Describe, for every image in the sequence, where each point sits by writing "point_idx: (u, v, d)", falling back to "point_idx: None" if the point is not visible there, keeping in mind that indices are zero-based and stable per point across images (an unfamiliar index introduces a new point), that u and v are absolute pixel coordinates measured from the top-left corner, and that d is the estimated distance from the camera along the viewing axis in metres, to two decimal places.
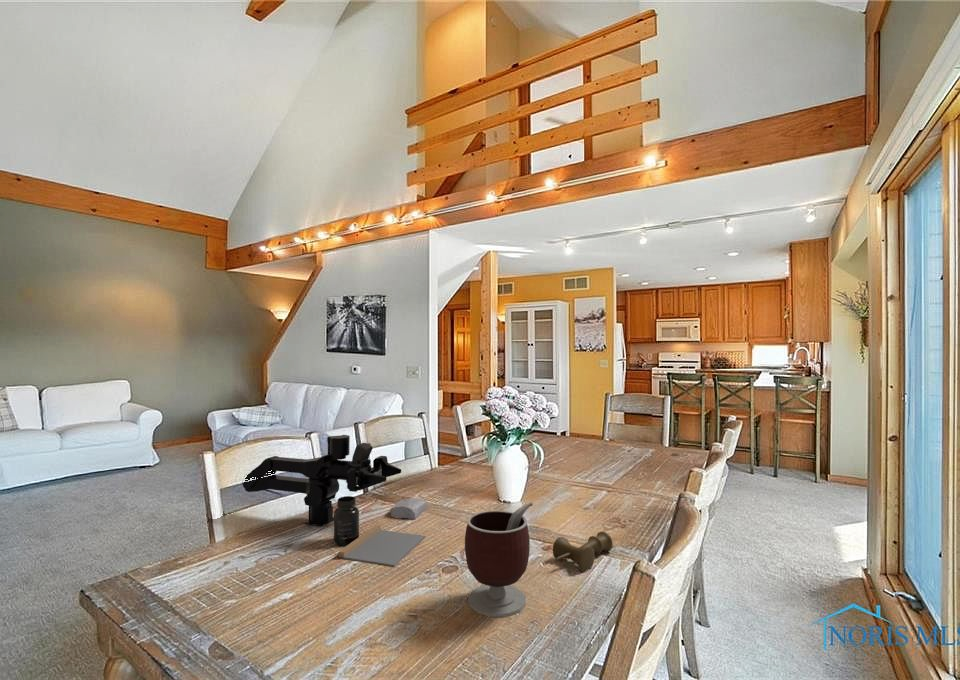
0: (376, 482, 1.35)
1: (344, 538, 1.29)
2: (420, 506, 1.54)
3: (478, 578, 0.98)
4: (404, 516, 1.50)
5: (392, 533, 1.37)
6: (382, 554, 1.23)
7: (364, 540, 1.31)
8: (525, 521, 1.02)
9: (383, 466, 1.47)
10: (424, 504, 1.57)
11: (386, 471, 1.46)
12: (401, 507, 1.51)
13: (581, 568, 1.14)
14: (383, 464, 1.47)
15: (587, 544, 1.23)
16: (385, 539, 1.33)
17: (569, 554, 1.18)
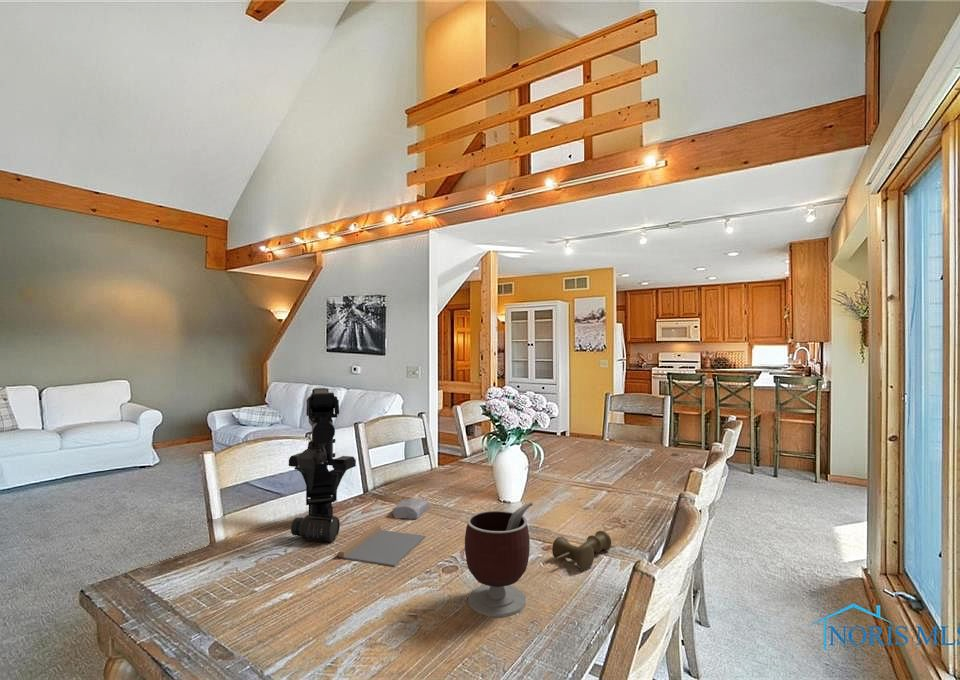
0: None
1: (321, 531, 1.30)
2: (422, 506, 1.54)
3: (478, 578, 0.98)
4: (406, 516, 1.50)
5: (392, 533, 1.37)
6: (382, 554, 1.23)
7: (364, 540, 1.31)
8: (525, 521, 1.02)
9: None
10: (426, 504, 1.57)
11: None
12: (403, 507, 1.51)
13: (581, 567, 1.15)
14: None
15: (586, 543, 1.23)
16: (385, 539, 1.33)
17: (569, 553, 1.18)
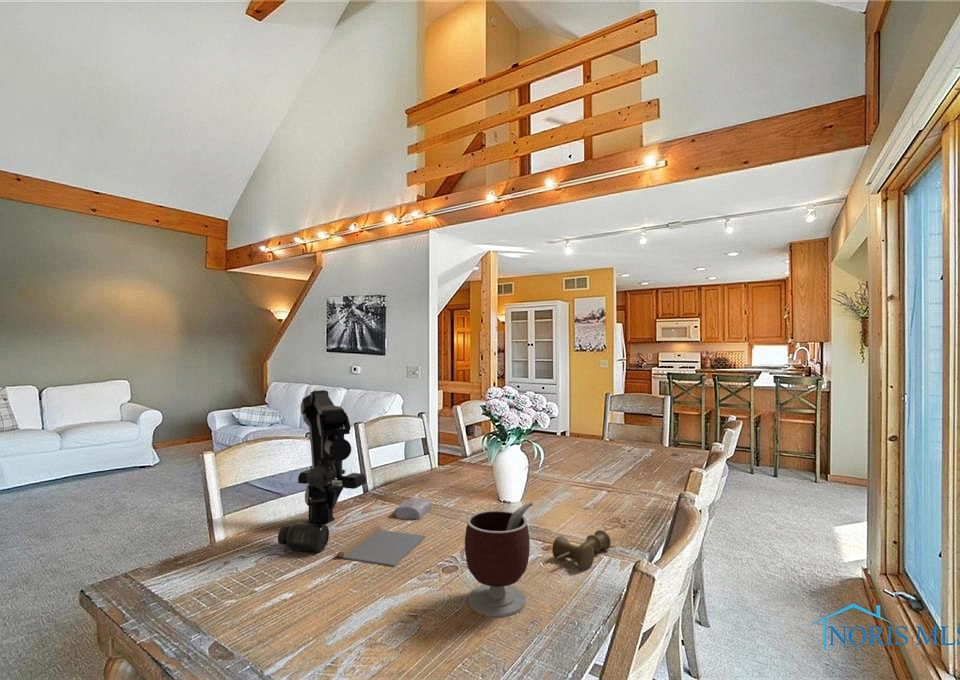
0: None
1: None
2: (425, 506, 1.53)
3: (478, 578, 0.98)
4: (409, 516, 1.50)
5: (392, 533, 1.37)
6: (382, 554, 1.23)
7: (364, 540, 1.31)
8: (525, 521, 1.02)
9: None
10: (428, 504, 1.57)
11: None
12: (406, 507, 1.51)
13: (581, 567, 1.15)
14: None
15: (586, 543, 1.23)
16: (385, 539, 1.33)
17: (569, 553, 1.19)
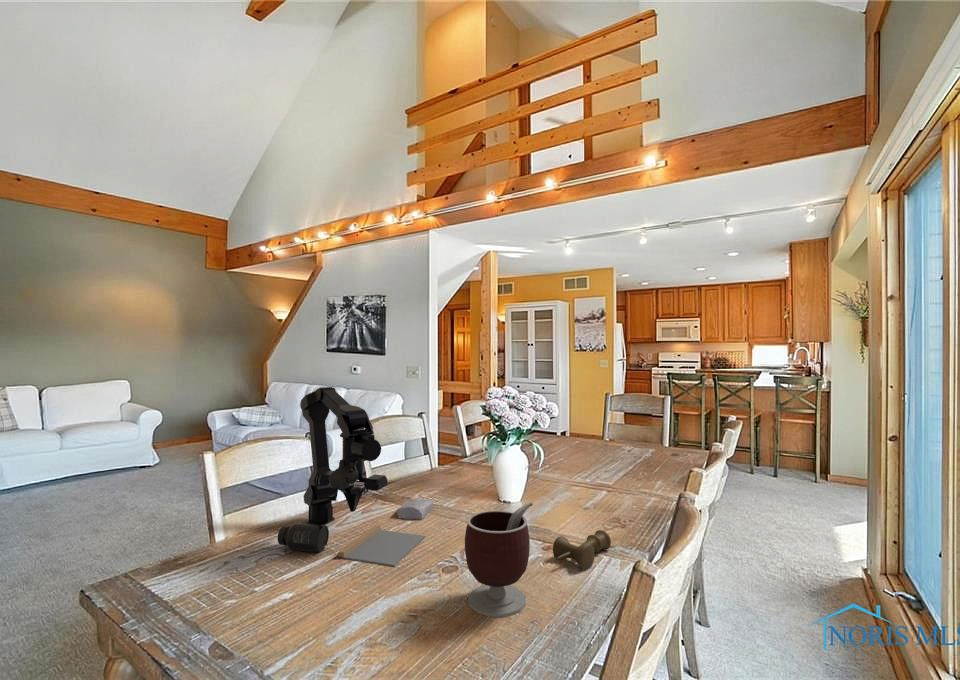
0: None
1: None
2: (427, 507, 1.53)
3: (478, 578, 0.98)
4: (411, 517, 1.50)
5: (392, 533, 1.37)
6: (382, 554, 1.23)
7: (364, 540, 1.31)
8: (525, 521, 1.02)
9: None
10: (430, 504, 1.57)
11: None
12: (408, 508, 1.51)
13: (582, 567, 1.15)
14: None
15: (586, 543, 1.24)
16: (385, 539, 1.33)
17: (569, 553, 1.19)
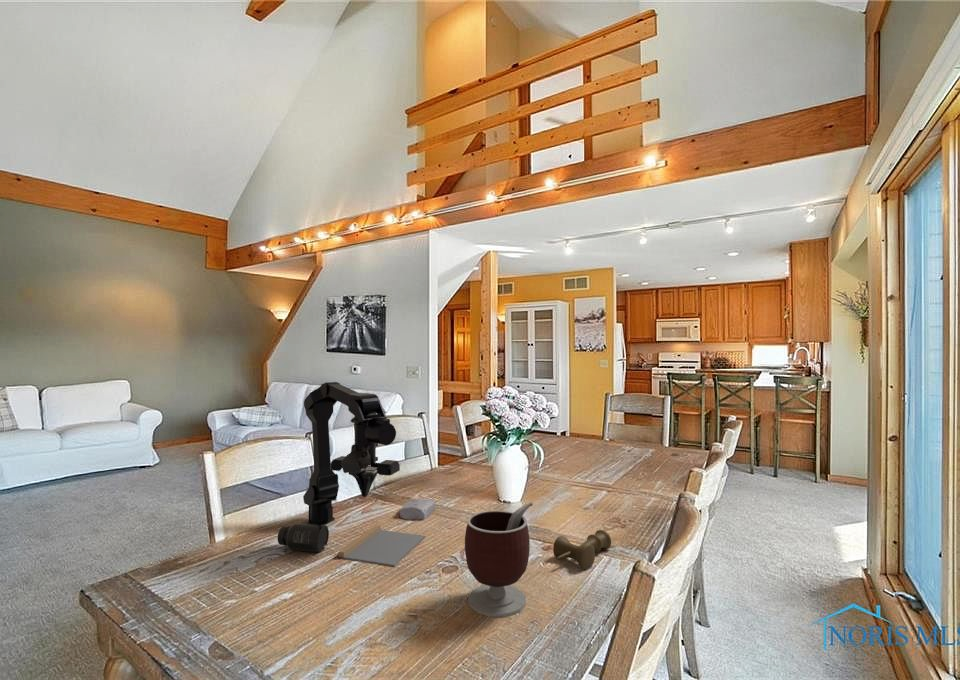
0: None
1: None
2: (429, 507, 1.53)
3: (478, 578, 0.98)
4: (413, 517, 1.50)
5: (392, 533, 1.37)
6: (382, 554, 1.23)
7: (364, 540, 1.31)
8: (525, 521, 1.02)
9: None
10: (433, 505, 1.57)
11: None
12: (410, 508, 1.50)
13: (582, 566, 1.15)
14: None
15: (587, 542, 1.24)
16: (385, 539, 1.33)
17: (570, 553, 1.19)
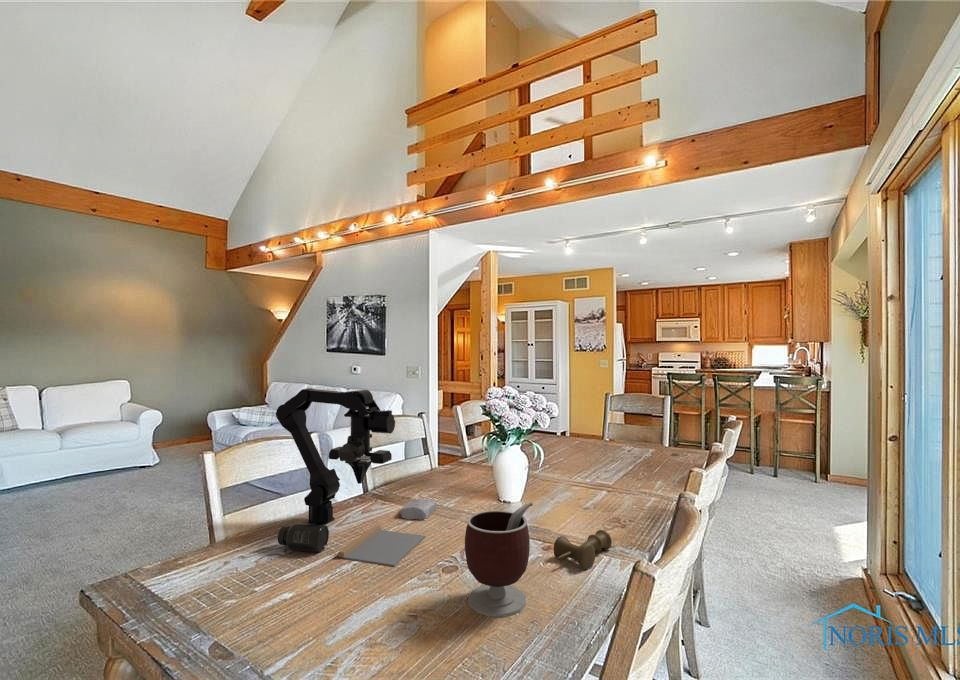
0: None
1: None
2: (430, 507, 1.53)
3: (478, 578, 0.98)
4: (415, 517, 1.50)
5: (392, 533, 1.37)
6: (382, 554, 1.23)
7: (364, 540, 1.31)
8: (525, 521, 1.02)
9: None
10: (434, 505, 1.57)
11: None
12: (412, 508, 1.50)
13: (583, 567, 1.15)
14: None
15: (587, 543, 1.24)
16: (385, 539, 1.33)
17: (570, 553, 1.19)
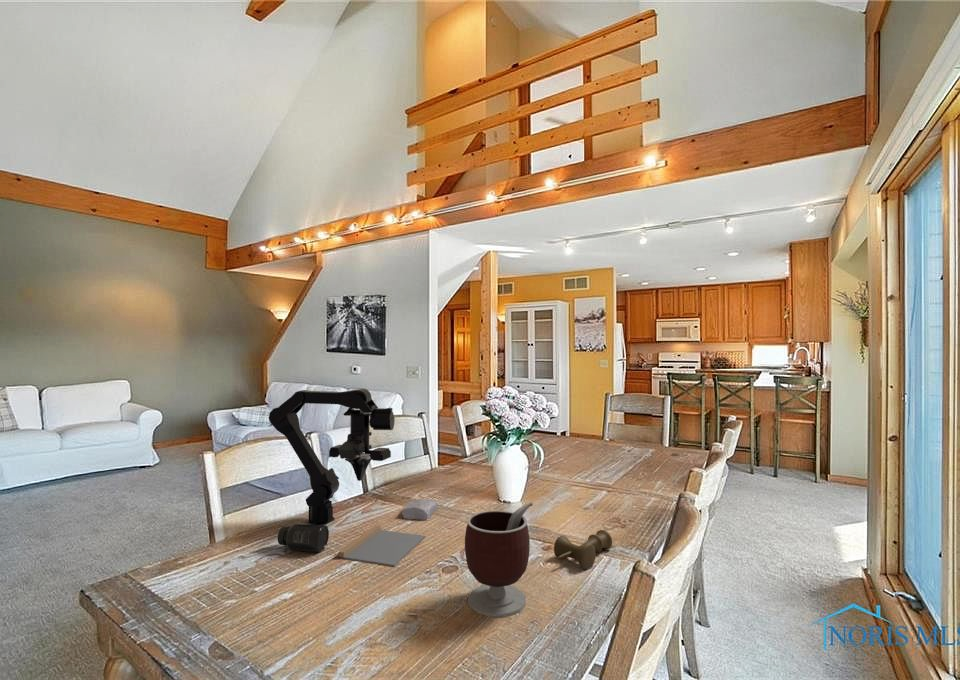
0: None
1: None
2: (432, 507, 1.53)
3: (478, 578, 0.98)
4: (416, 517, 1.50)
5: (392, 533, 1.37)
6: (382, 554, 1.23)
7: (364, 540, 1.31)
8: (525, 521, 1.02)
9: None
10: (435, 505, 1.57)
11: None
12: (413, 508, 1.50)
13: (583, 566, 1.15)
14: None
15: (588, 542, 1.24)
16: (385, 539, 1.33)
17: (571, 553, 1.19)
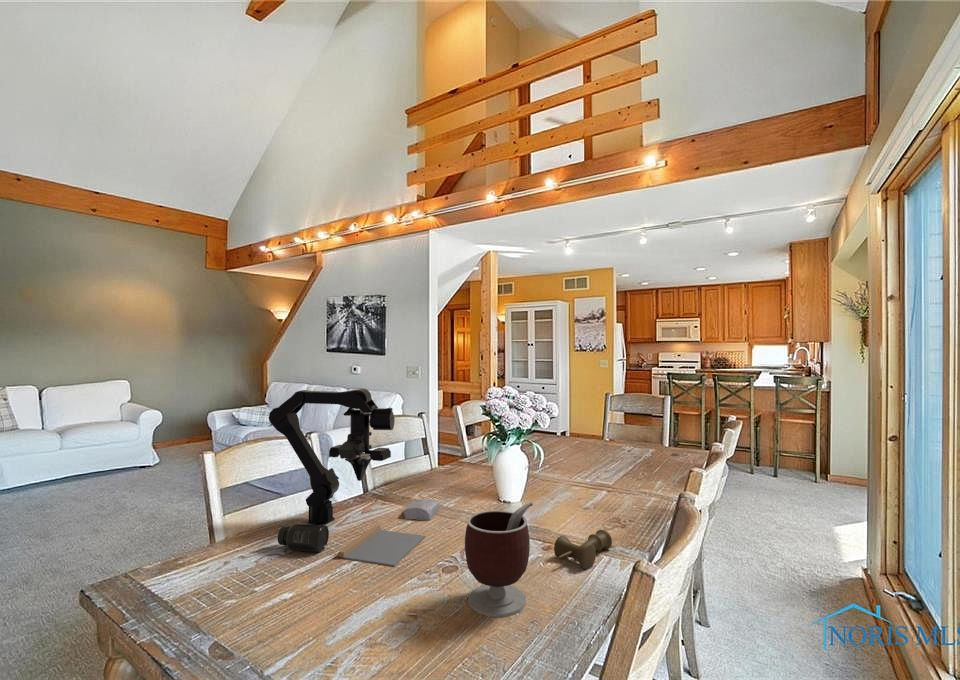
0: None
1: None
2: (434, 507, 1.53)
3: (478, 578, 0.98)
4: (418, 517, 1.49)
5: (392, 533, 1.37)
6: (382, 554, 1.23)
7: (364, 540, 1.31)
8: (525, 521, 1.02)
9: None
10: (437, 505, 1.57)
11: None
12: (415, 508, 1.50)
13: (583, 566, 1.16)
14: None
15: (588, 542, 1.24)
16: (385, 539, 1.33)
17: (571, 552, 1.19)
